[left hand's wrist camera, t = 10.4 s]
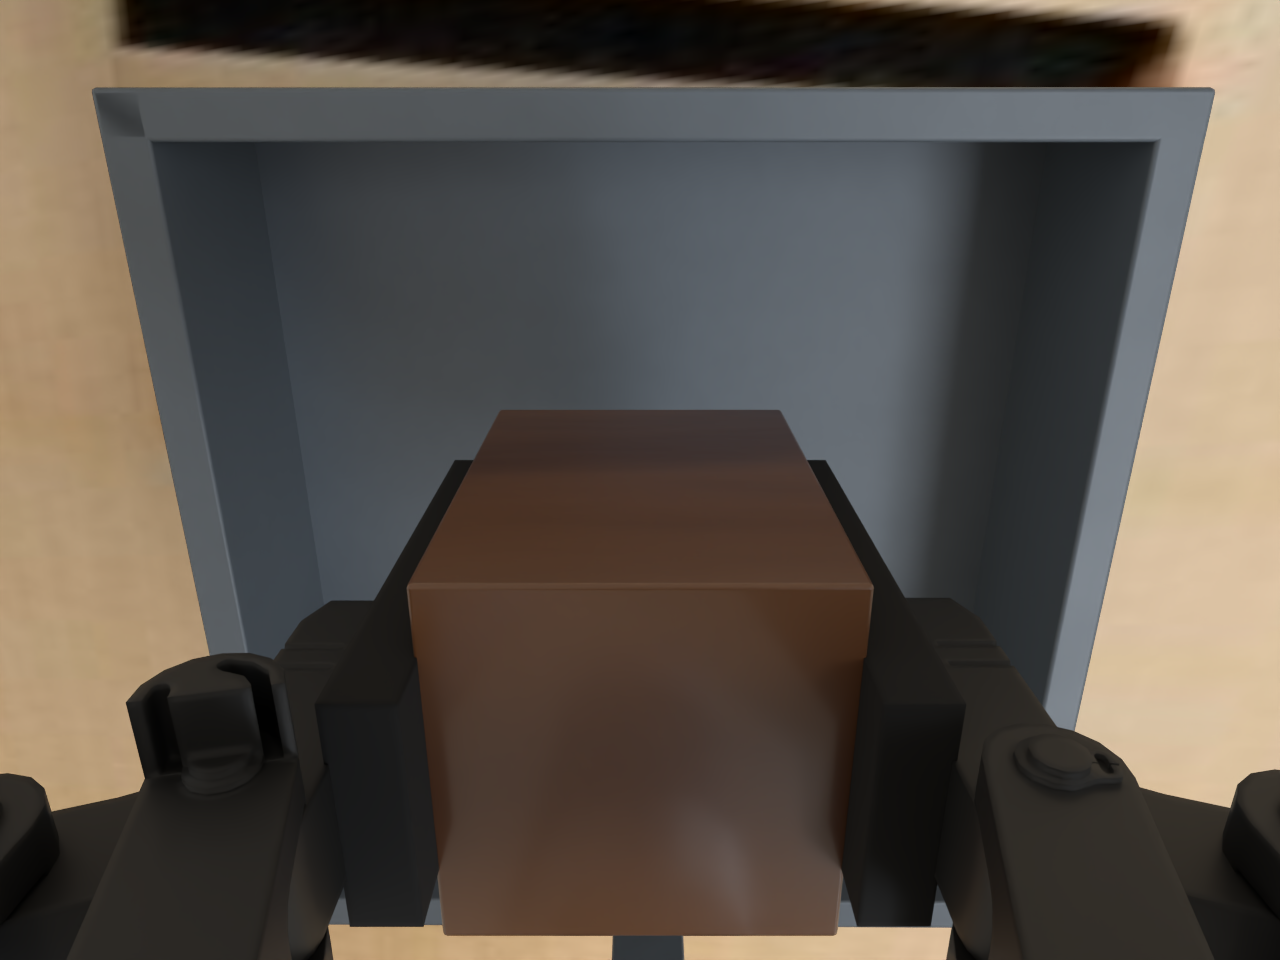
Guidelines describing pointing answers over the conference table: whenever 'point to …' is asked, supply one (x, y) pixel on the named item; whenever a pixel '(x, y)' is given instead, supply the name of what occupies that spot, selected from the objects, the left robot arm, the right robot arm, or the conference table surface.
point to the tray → (658, 318)
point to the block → (640, 679)
